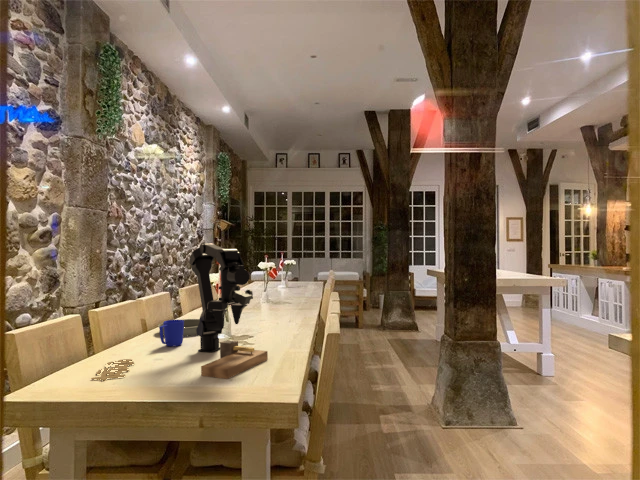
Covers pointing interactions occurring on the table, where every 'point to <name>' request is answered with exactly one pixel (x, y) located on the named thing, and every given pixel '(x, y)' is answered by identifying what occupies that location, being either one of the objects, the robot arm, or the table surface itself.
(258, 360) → the plank
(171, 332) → the mug
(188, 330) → the cake pan
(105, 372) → the lettering
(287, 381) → the table surface
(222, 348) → the mallet
